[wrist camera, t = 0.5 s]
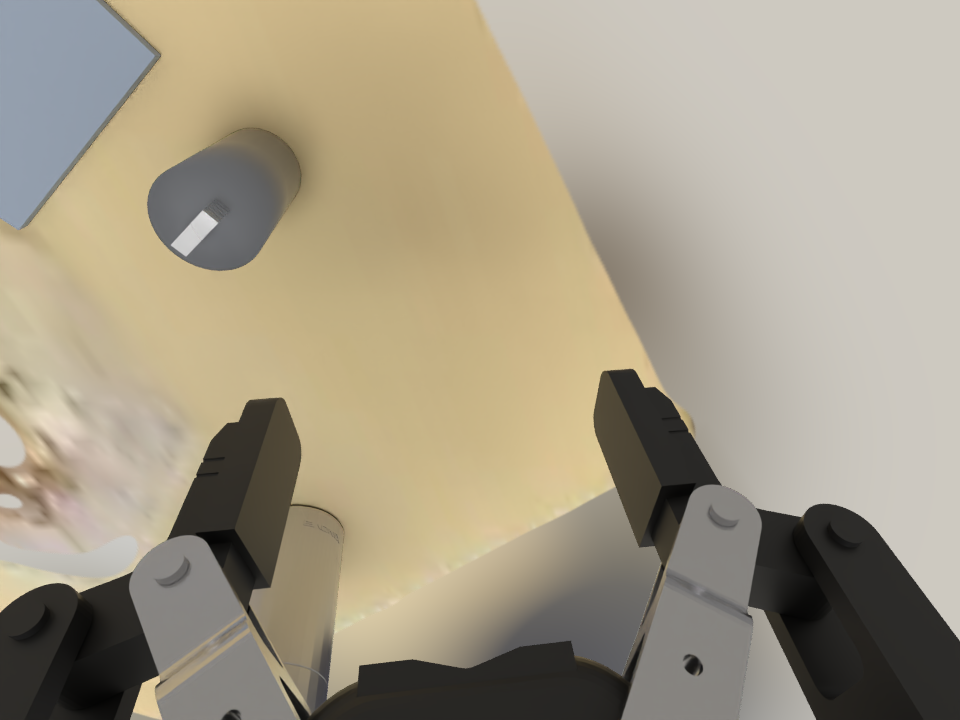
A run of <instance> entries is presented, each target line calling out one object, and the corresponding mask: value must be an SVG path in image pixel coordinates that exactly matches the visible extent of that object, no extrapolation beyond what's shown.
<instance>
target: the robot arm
mask: <svg viewBox="0 0 960 720" xmlns="http://www.w3.org/2000/svg"><path fill="white" fill-rule="evenodd" d="M680 417H681V416H680V415H679V413H678V411H677V410H676V408H675V406H674V404H673V403H672V401H671V400H670V399H669V398H668V397H666V396H665V395H664V394H663V393H662V392H660V391H659V390H658V389H657V388H656V387H650V388H644V386H643V384H642V382H641V380H640V378H639V377H638V375H637V373H636V372H635V370H633V369H624V370H611V371H603V372H602V374H601V378H600V383H599V388H598V393H597V399H596V404H595V409H594V428H595V433H596V436H597V439H598V442H599V444H600V447H601V449H602V452H603V455H604V457H605V460H606V462H607V465H608V468H609V470H610V473H611V475H612V478H613V481H614V483H615V486H616V488H617V491H618V494H619V496H620V499H621V501H622V504H623V506H624V509H625V512H626V515H627V517H628V519H629V522H630V525H631V527H632V530H633V533H634V535H635V538H636V540H637V543H638V546H639V547H649V546H655V548H656V549H657V552H658V555H659V557H660V560H661V564H660V567H659V570H658V573H657V576H656V579H655V582H654V585H653V589H652V591H651V594H650V597H649V600H648V603H647V606H646V609H645V612H644V615H643V618H642V621H641V624H640V627H639V630H638V633H637V636H636V639H635V641H634V644H633V646H632V649H631V651H630V654H629V657H628V660H627V662H626V665H625V668H624V671H623V674H622V676H621V675H619V674H618V673H616V672H614V671H613V670H611V669H609V668H608V667H606V666H604V665H602V664H600V663H597V662H596V661H592V660H590V659H587V658H583V657H579V656H574V652H573V648H572V644H571V641H566V642H557V643H549V644H540V645H532V646H523V647H519V648H516V649H514V650H512V651H509V652H507V653H505V654H502V655H500V656H498V657H495V658H493V659H491V660H488V661H486V662H484V663H481V664H479V665H477V666H475V667H472V668H467V669H465V668H457V667H452V666H446V665H441V664H435V663H429V662H424V661H418V660H413V659H412V660H403V661H395V662H386V663H378V664H369V665H361V666H359V676H358V682H356V683H354V684H351V685H349V686H347V687H346V688H344V689H342V690H340V691H339V692H337V693H336V694H334V695H333V696H332V697H330V698H329V699H328V700H327V692H328V681H329V672H330V662H331V653H332V644H333V634H334V625H335V616H336V606H337V597H338V588H339V578H340V569H341V560H342V550H343V541H344V532H343V528H342V526H341V524H340V523H339V522H338V521H337V520H336V519H335V518H334V517H333V516H331V515H330V514H328V513H326V512H324V511H322V510H319V509H315V508H311V507H305V506H290V504H291V500H292V496H293V492H294V488H295V483H296V479H297V475H298V471H299V467H300V462H301V444H300V439H299V436H298V434H297V431H296V428H295V426H294V423H293V420H292V418H291V415H290V412H289V410H288V407H287V405H286V402H285V400H284V399H283V398H268V399H256V400H249V401H248V402H247V403H246V405H245V408H244V410H243V413H242V415H241V418H240V420H239V422H235V423H227V424H226V425H225V426H224V427H223V428H222V429H221V430H220V432H219V433H218V434H217V435H216V436H215V437H214V438H213V439H212V440H211V442H210V444H209V447H208V449H207V451H206V453H205V456H204V458H203V463H201V465H200V467H199V469H198V472H197V474H196V475H197V477H196V478H194V481H193V483H192V485H191V488H190V490H189V492H188V494H187V497H186V499H185V501H184V503H183V506H182V508H181V510H180V513H179V515H178V517H177V519H176V522H175V524H174V526H173V528H172V531H171V533H170V535H169V537H168V539H167V541H165V542H163V543H161V544H159V545H158V546H156V547H155V548H153V549H152V550H151V551H150V552H148V553H147V554H146V555H145V556H144V557H143V558H142V559H141V561H140V562H139V563H138V564H137V566H136V568H135V569H134V571H133V572H131V573H129V574H127V575H125V576H122V577H120V578H117V579H115V580H112V581H110V582H107V583H104V584H102V585H99V586H96V587H94V588H91V589H88V590H86V591H83V592H80V593H78V592H77V591H76V590H75V589H73V588H72V587H71V586H69V585H66V584H61V583H55V584H48V585H44V586H41V587H38V588H36V589H33V590H31V591H29V592H27V593H25V594H24V595H22V596H20V597H19V598H17V599H16V600H15V601H13V602H12V603H11V604H9V605H8V606H7V607H6V608H5V609H4V610H3V611H2V612H1V613H0V720H130V717H131V715H132V712H133V709H134V706H135V703H136V700H137V697H138V694H139V691H140V688H141V685H142V683H143V682H145V681H148V680H150V679H152V678H154V677H156V676H160V683H159V684H158V685H156V687H155V696H156V701H157V704H158V707H159V710H160V713H161V716H162V719H163V720H738V719H739V712H740V706H741V701H742V694H743V688H744V682H745V676H746V670H747V663H748V658H749V651H750V645H751V639H752V632H753V619H752V616H750V615H748V612H747V609H748V606H750V607H754V608H758V609H762V610H764V612H765V614H766V616H767V618H768V620H769V622H770V624H771V626H772V628H773V630H774V633H775V635H776V637H777V639H778V641H779V643H780V645H781V647H782V649H783V651H784V653H785V655H786V657H787V659H788V662H789V664H790V666H791V668H792V670H793V672H794V674H795V676H796V678H797V680H798V682H799V684H800V686H801V689H802V691H803V693H804V695H805V697H806V699H807V701H808V703H809V705H810V707H811V709H812V711H813V714H814V716H815V717H816V720H960V641H959V639H958V638H957V637H956V635H955V634H954V633H953V632H952V630H951V629H950V627H949V626H948V625H947V623H946V622H945V621H944V620H943V618H942V617H941V616H940V614H939V613H938V612H937V610H936V609H935V608H934V606H933V605H932V604H931V602H930V601H929V600H928V598H927V597H926V596H925V594H924V593H923V592H922V590H921V589H920V588H919V586H918V585H917V584H916V582H915V581H914V580H913V578H912V577H911V576H910V575H909V573H908V572H907V570H906V569H905V568H904V566H903V565H902V564H901V562H900V561H899V560H898V558H897V557H896V556H895V555H894V553H893V552H892V550H891V549H890V548H889V546H888V545H887V544H886V542H885V541H884V540H883V538H882V537H881V536H880V534H879V533H878V532H877V531H876V529H875V528H874V527H873V526H872V525H871V524H870V523H868V522H867V521H866V520H865V519H864V518H862V517H861V516H859V515H858V514H856V513H854V512H852V511H850V510H848V509H846V508H843V507H840V506H837V505H831V504H818V505H814V506H812V507H810V508H809V509H808V510H807V511H806V512H805V514H804V515H803V516H802V517H797V516H792V515H787V514H781V513H776V512H771V511H766V510H761V509H757V508H755V506H754V505H753V504H752V503H751V502H750V501H749V500H748V499H747V498H746V497H745V496H743V495H742V494H740V493H739V492H737V491H735V490H733V489H731V488H728V487H725V486H722V485H721V484H720V482H719V481H718V479H717V478H716V476H715V474H714V472H713V471H712V469H711V467H710V466H709V464H708V462H707V461H706V459H705V457H704V455H703V454H702V452H701V450H700V449H699V447H698V445H697V444H696V442H695V440H694V438H693V437H692V435H691V433H689V432H688V428H687V426H686V425H685V423H684V421H683V420H681V418H680Z"/></svg>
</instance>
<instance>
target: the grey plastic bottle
mask: <svg viewBox="0 0 960 720" xmlns="http://www.w3.org/2000/svg"><path fill="white" fill-rule="evenodd" d="M300 183H301V171H300V166H299V163H298V161H297V158H296V156H295V155H294V153H293V151H292V150H291V149H290V147H289V146H288V145H287V144H286V143H285V142H284V141H283V140H282V139H280V138H279V137H277V136H276V135H274V134H272V133H270V132H268V131H265V130H262V129H257V128H245V129H241V130H238V131H235V132H233V133H232V134H230V135H228V136H226V137H225V138H223V139H221V140H219V141H218V142H216V143H214V144H212V145H211V146H209V147H207V148H205V149H203V150H202V151H200V152H198V153H196V154H195V155H193V156H191V157H189V158H188V159H186V160H184V161H182V162H181V163H179V164H177V165H175V166H174V167H172V168H170V169H168V170H167V171H165V172H164V173H162V174H161V175H160V176H159V177H158V178H157V179H156V180H155V182H154V183H153V185H152V187H151V189H150V191H149V195H148V202H147V206H148V214H149V218H150V221H151V224H152V226H153V228H154V230H155V232H156V234H157V235H158V237H159V238H160V240H161V241H162V242H163V243H164V245H165V246H166V247H167V248H168V249H169V250H171V251H172V252H173V253H174V254H175V255H177V256H178V257H180V258H181V259H183V260H185V261H186V262H188V263H190V264H193V265H195V266H198V267H201V268H204V269H209V270H218V271H222V270H232V269H236V268H239V267H241V266H244V265H246V264H247V263H249V262H250V261H251V260H253V259H254V258H255V257H256V255H257V254H258V253H259V251H260V250H261V248H262V247H263V245H264V244H265V242H266V241H267V239H268V237H269V236H270V234H271V233H272V231H273V230H274V228H275V227H276V225H277V224H278V222H279V220H280V219H281V217H282V216H283V214H284V213H285V211H286V210H287V208H288V207H289V205H290V204H291V202H292V200H293V199H294V197H295V196H296V194H297V192H298V190H299V187H300Z"/></svg>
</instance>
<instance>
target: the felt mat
mask: <svg viewBox="0 0 960 720" xmlns="http://www.w3.org/2000/svg"><path fill="white" fill-rule="evenodd" d="M160 56H161V55H160V54H159V53H158V52H157V51H156V50H155V49H154V48H153V47H152V46H151V45H150V44H149V43H148V42H147V41H146V40H145V39H143V38H142V37H141V36H140V35H139V34H138V33H137V32H136V31H135V30H134V29H133V28H132V27H131V26H130V25H129V24H128V23H127V22H126V21H125V20H123V19H122V18H121V17H120V16H119V15H118V14H117V13H116V12H115V11H114V10H113V9H112V8H111V7H110V6H109V5H108V4H107V3H106V2H105V1H103V0H0V218H1V219H2V220H4V221H5V222H7V223H8V224H10V225H11V226H13V227H14V228H16V229H17V230H20V229H22V228H24V227H26V226H27V225H28V224H29V223H30V221H31V220H32V219H33V218H34V216H35V215H36V214H37V212H38V211H39V210H40V209H41V207H42V206H43V205H44V204H45V202H46V201H47V200H48V199H49V197H50V196H51V195H52V193H53V192H54V191H55V190H56V188H57V187H58V186H59V185H60V183H61V182H62V181H63V179H64V178H65V177H66V176H67V174H68V173H69V172H70V171H71V169H72V168H73V167H74V166H75V164H76V163H77V162H78V160H79V159H80V158H81V157H82V155H83V154H84V153H85V152H86V150H87V149H88V148H89V147H90V145H91V144H92V143H93V141H94V140H95V139H96V138H97V136H98V135H99V134H100V133H101V131H102V130H103V129H104V127H105V126H106V125H107V124H108V122H109V121H110V120H111V119H112V117H113V116H114V115H115V114H116V112H117V111H118V110H119V108H120V107H121V106H122V105H123V103H124V102H125V101H126V100H127V98H128V97H129V96H130V94H131V93H132V92H133V91H134V89H135V88H136V87H137V86H138V84H139V83H140V82H141V81H142V79H143V78H144V77H145V75H146V74H147V73H148V72H149V70H150V69H151V68H152V67H153V65H154V64H155V63H156V62H157V60H158V59H159V58H160Z"/></svg>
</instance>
